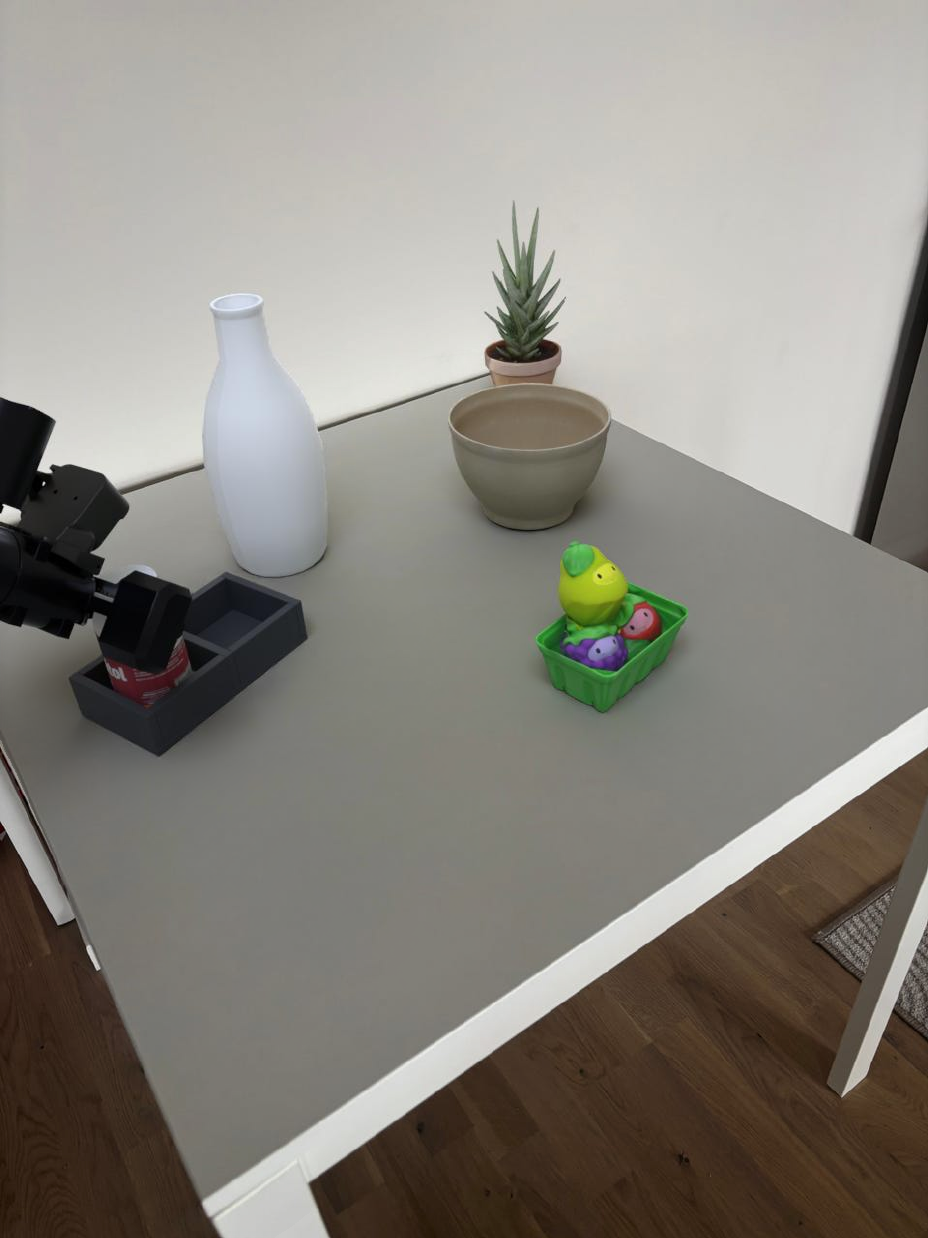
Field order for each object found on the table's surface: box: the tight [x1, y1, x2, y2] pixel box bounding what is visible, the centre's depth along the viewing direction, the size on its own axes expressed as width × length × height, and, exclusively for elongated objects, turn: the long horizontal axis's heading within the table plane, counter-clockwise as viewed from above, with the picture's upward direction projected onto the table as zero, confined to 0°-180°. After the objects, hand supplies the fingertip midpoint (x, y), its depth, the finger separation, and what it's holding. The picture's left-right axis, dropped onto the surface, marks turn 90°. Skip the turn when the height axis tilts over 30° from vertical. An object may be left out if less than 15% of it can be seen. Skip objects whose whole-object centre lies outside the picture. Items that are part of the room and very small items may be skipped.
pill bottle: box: [91, 564, 193, 708], centre depth 75 cm, size 6×6×11 cm
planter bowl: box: [447, 383, 612, 531], centre depth 99 cm, size 16×16×11 cm
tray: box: [68, 571, 308, 757], centre depth 81 cm, size 17×9×4 cm, turn 146°
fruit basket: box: [535, 540, 690, 713], centre depth 77 cm, size 11×9×11 cm
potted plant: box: [483, 199, 567, 387], centre depth 117 cm, size 10×10×25 cm
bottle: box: [201, 292, 329, 578], centre depth 90 cm, size 11×11×25 cm
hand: (151, 619), depth 76 cm, fingers closed on pill bottle, 6 cm apart
